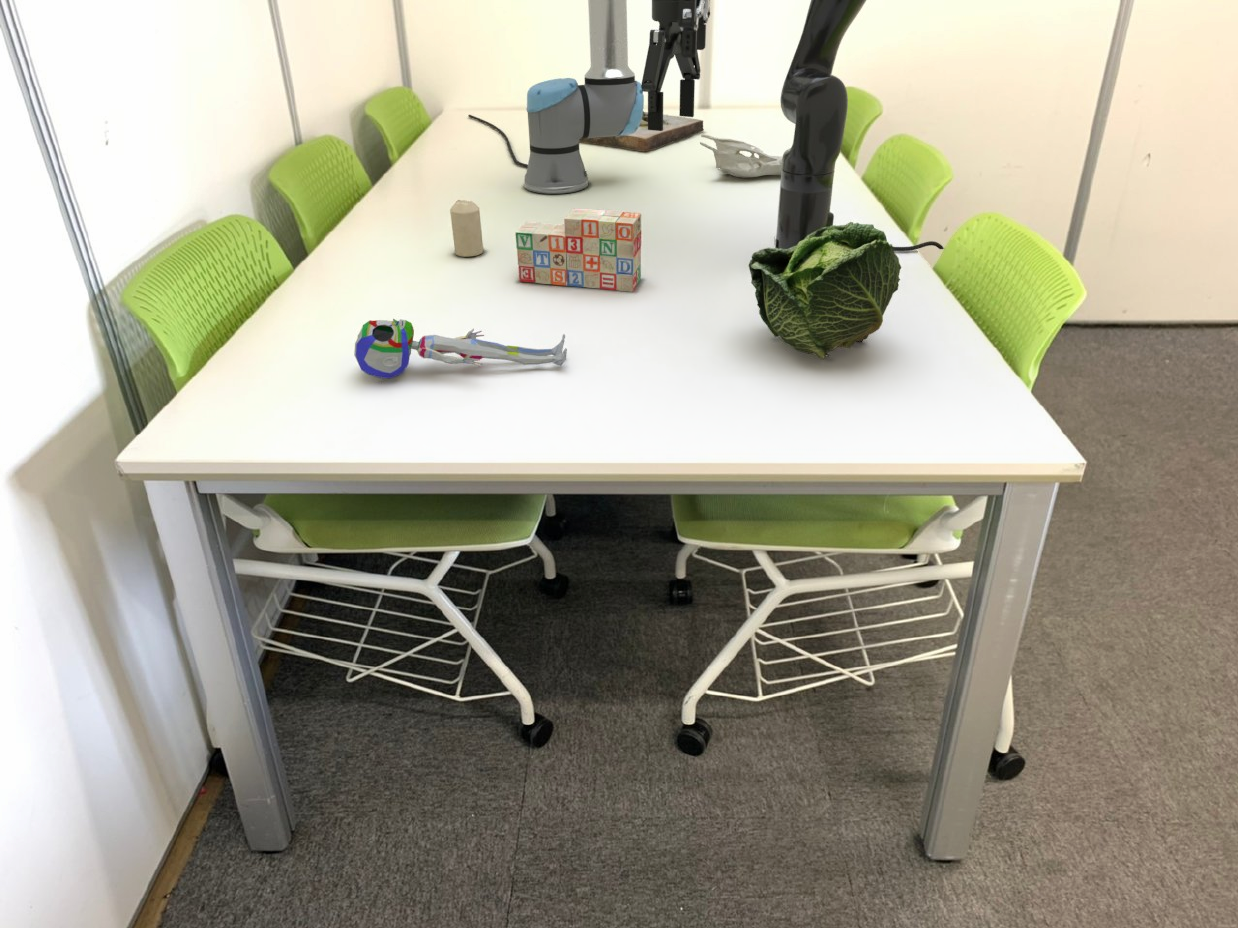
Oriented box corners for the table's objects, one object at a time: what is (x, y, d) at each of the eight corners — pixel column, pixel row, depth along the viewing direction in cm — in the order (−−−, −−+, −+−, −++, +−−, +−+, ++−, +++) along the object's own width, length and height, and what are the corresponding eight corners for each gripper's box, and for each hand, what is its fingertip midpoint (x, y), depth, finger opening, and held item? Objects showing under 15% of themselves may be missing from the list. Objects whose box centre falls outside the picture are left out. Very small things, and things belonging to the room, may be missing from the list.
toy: (569, 347, 126) (349, 329, 122) (563, 400, 131) (350, 385, 126) (565, 318, 135) (359, 301, 130) (559, 369, 139) (360, 354, 134)
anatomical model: (702, 130, 224) (803, 129, 220) (702, 168, 229) (801, 167, 225) (697, 145, 212) (805, 144, 208) (697, 184, 216) (802, 184, 213)
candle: (488, 249, 176) (483, 198, 171) (475, 258, 172) (470, 206, 167) (463, 246, 178) (457, 196, 173) (450, 255, 174) (443, 204, 168)
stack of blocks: (518, 282, 161) (513, 214, 155) (529, 270, 166) (525, 204, 160) (633, 292, 157) (633, 222, 150) (641, 279, 162) (641, 211, 155)
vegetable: (778, 371, 145) (721, 264, 137) (874, 304, 146) (823, 195, 138) (839, 398, 127) (777, 277, 119) (948, 321, 128) (894, 197, 120)
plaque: (647, 125, 237) (559, 112, 252) (647, 153, 241) (560, 139, 256) (706, 107, 258) (622, 97, 273) (705, 133, 262) (622, 121, 277)
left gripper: (661, 2, 146) (660, 138, 157) (720, -10, 164) (716, 112, 176) (620, 1, 149) (622, 134, 160) (683, -11, 167) (681, 109, 179)
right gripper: (714, -63, 128) (709, 61, 136) (728, -67, 139) (723, 47, 148) (662, -62, 129) (661, 59, 138) (681, -66, 141) (679, 46, 150)
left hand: (671, 123), depth 168 cm, fingers open, 13 cm apart
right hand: (693, 53), depth 143 cm, fingers open, 8 cm apart
